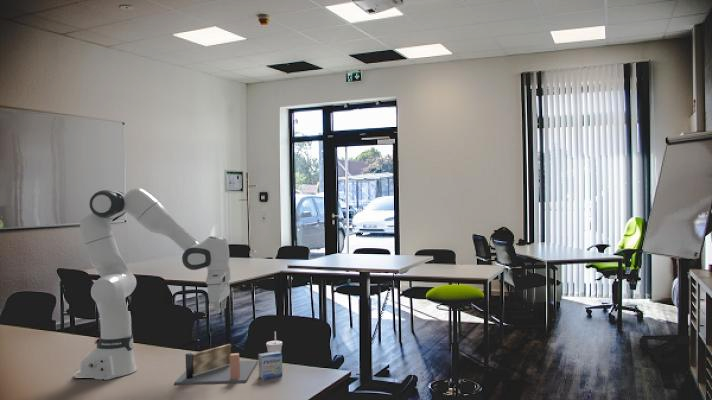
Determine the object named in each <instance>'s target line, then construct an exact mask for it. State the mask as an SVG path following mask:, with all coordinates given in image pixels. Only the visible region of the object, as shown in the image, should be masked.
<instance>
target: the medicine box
mask: <svg viewBox="0 0 712 400" xmlns="http://www.w3.org/2000/svg"><path fill="white" fill-rule="evenodd" d="M257 356H258V357H257V358H258V377H259V378H260V379H262V380H269V379H274V378H278V377H282V376H283V354H282V351H281V352H279V351H274V352H268V351H267V352H264V353H258V355H257Z"/></svg>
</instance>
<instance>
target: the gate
mask: <svg viewBox="0 0 712 400" xmlns="http://www.w3.org/2000/svg"><path fill="white" fill-rule="evenodd" d="M231 348H232V343H227V344H223V345H220V346H216V347H213V348H209V349H205V350H201V351H197V352H194V353H192V364H193V375H195V374H198V373H202V372H205V371H208V370H211V369H215V368H218V367H221V366H224V365H228V364H230V355H231V354H232V350H231Z"/></svg>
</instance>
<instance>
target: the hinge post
mask: <svg viewBox="0 0 712 400" xmlns="http://www.w3.org/2000/svg"><path fill="white" fill-rule="evenodd" d="M192 354H193V353H191V352H190V353H189V352H188V353H186V354H185V371H186V378H187V379H190V378H193V364H192Z"/></svg>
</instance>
